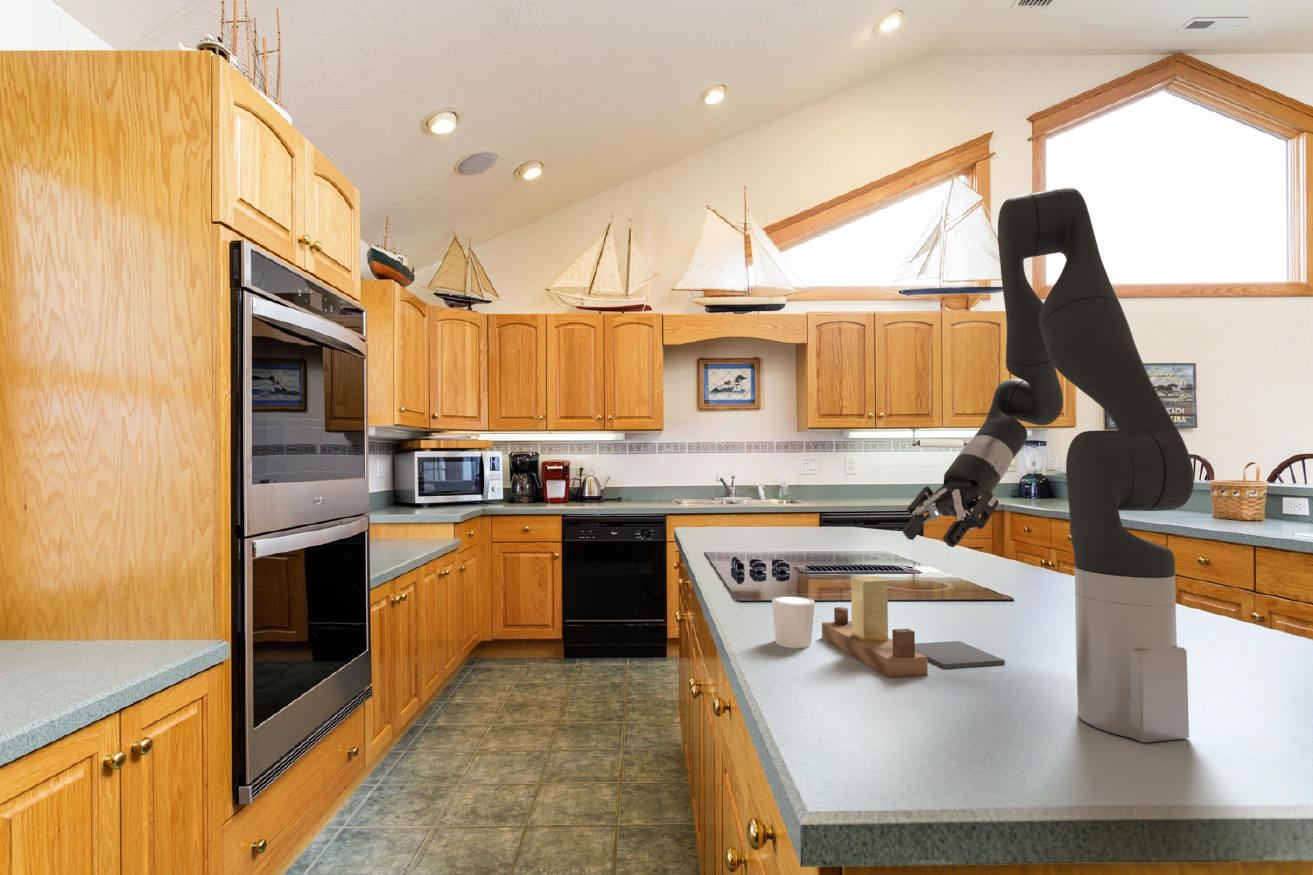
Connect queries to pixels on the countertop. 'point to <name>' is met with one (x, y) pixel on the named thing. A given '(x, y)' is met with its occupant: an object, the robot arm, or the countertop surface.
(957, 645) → the mat
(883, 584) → the pale wooden block
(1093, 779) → the countertop surface
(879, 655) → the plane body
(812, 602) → the white cup
